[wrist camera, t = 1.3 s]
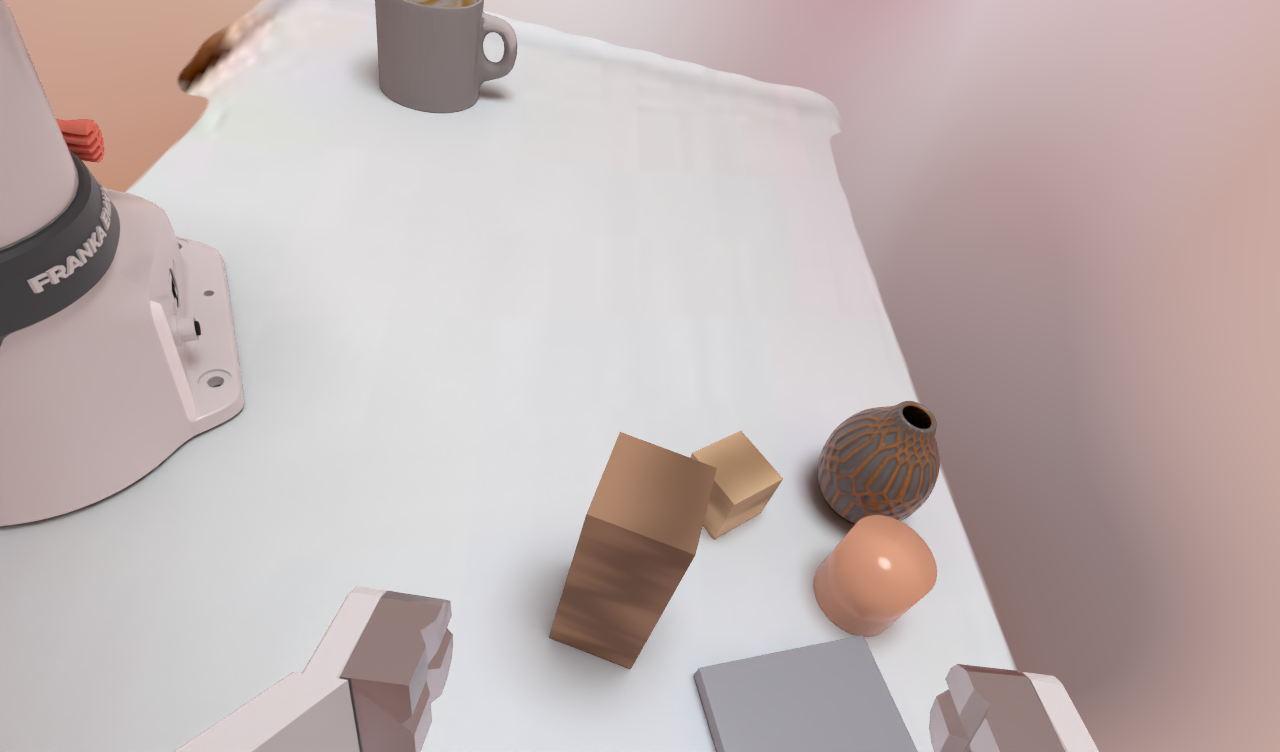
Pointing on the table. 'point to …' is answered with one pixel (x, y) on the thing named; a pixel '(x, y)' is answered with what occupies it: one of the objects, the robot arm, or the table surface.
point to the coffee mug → (438, 52)
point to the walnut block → (632, 549)
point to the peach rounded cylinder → (874, 575)
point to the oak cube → (736, 483)
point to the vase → (880, 462)
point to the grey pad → (803, 702)
